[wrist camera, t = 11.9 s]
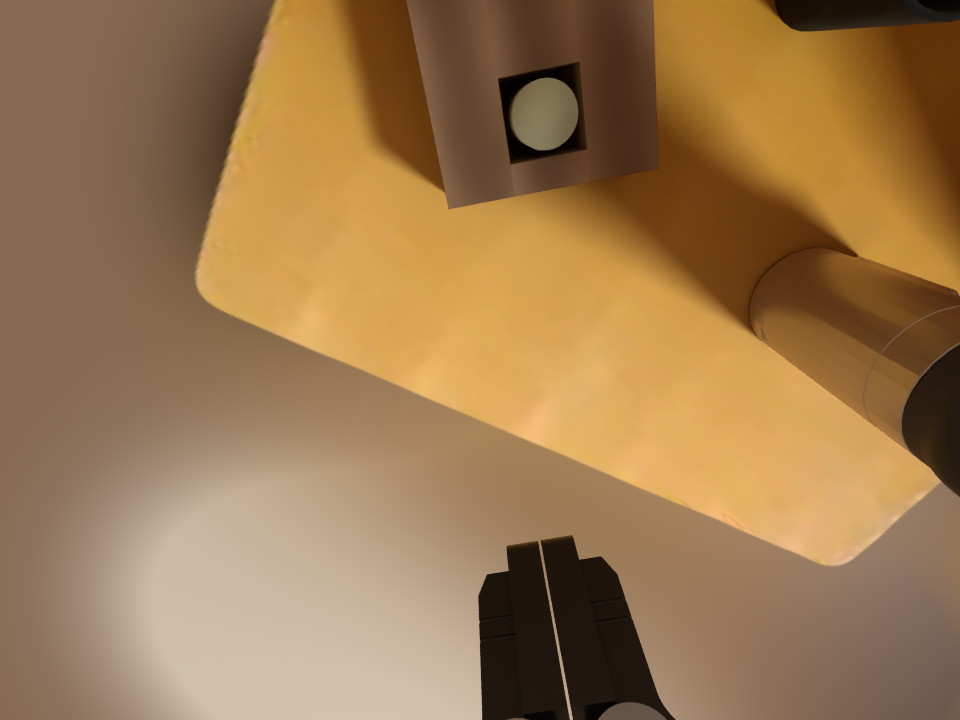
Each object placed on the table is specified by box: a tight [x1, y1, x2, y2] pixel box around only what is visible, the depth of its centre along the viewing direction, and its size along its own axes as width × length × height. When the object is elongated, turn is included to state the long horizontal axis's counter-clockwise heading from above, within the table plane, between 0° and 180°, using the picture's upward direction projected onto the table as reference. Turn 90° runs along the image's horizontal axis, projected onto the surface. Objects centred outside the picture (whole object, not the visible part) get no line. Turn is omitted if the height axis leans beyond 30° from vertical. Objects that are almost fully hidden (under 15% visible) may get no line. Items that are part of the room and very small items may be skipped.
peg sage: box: [505, 78, 578, 150], centre depth 34 cm, size 4×4×7 cm
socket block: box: [406, 0, 658, 209], centre depth 33 cm, size 14×18×6 cm
